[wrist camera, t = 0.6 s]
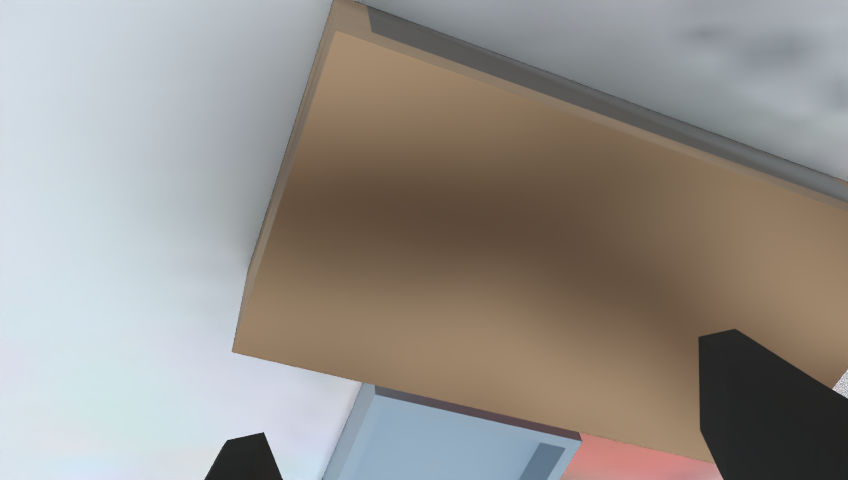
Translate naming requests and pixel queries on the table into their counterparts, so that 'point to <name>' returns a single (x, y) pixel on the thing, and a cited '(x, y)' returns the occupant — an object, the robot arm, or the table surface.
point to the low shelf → (531, 241)
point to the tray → (444, 442)
